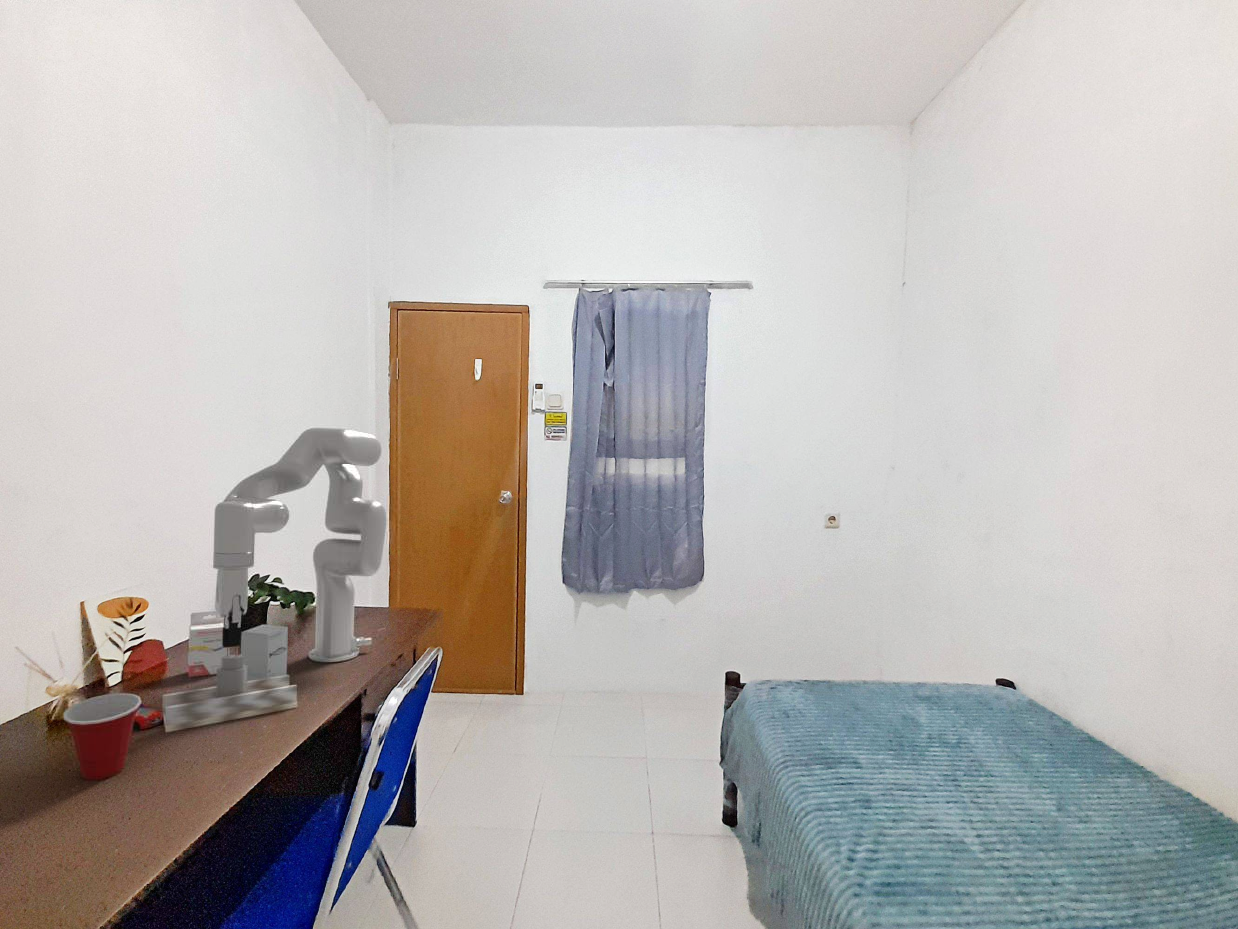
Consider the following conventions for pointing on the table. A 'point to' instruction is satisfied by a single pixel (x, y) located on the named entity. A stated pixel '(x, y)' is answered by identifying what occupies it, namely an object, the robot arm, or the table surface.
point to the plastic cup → (102, 732)
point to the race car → (146, 717)
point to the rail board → (227, 703)
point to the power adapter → (231, 675)
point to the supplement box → (265, 651)
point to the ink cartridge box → (205, 644)
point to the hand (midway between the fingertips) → (231, 645)
